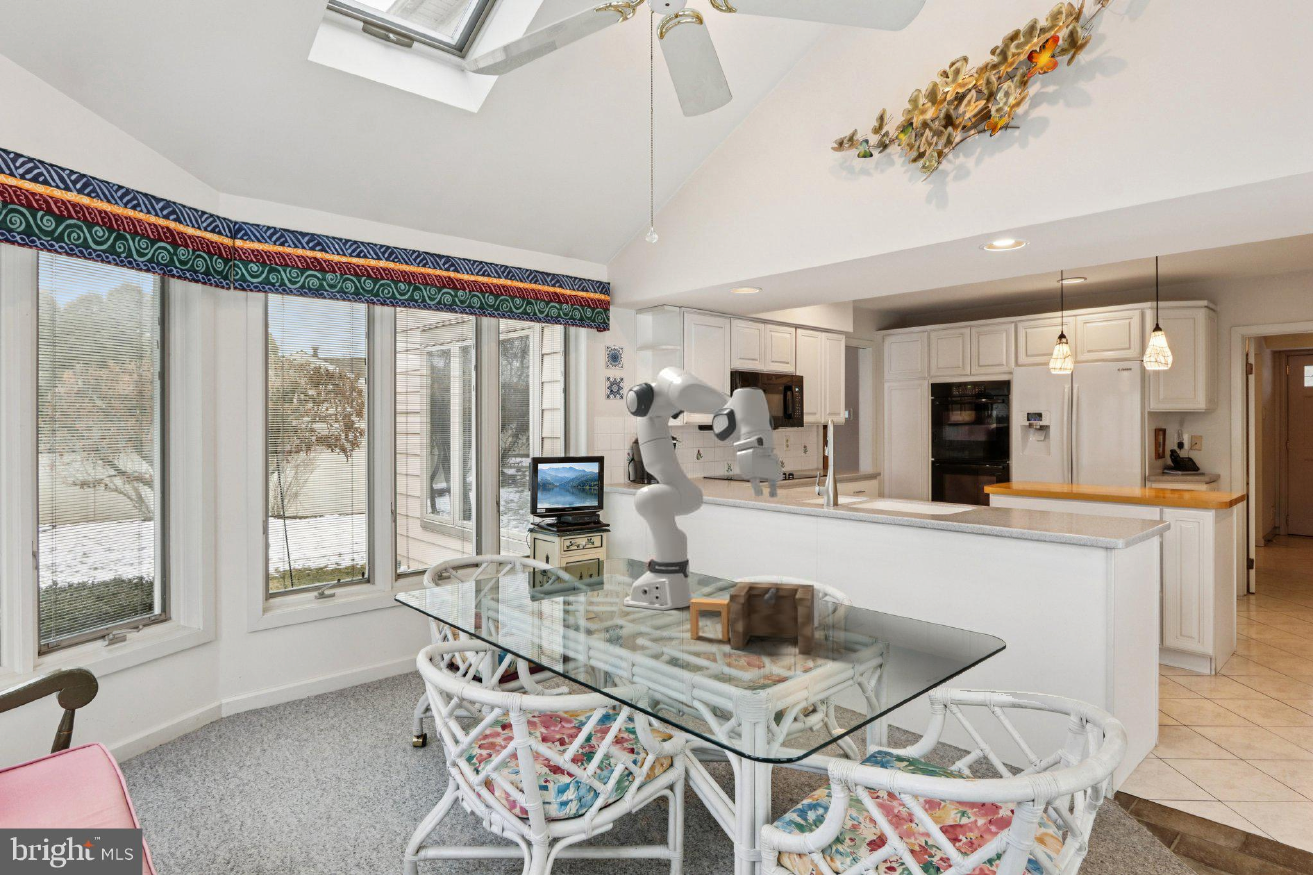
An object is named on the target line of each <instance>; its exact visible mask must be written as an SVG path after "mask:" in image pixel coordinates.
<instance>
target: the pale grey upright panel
mask: <svg viewBox="0 0 1313 875" xmlns="http://www.w3.org/2000/svg"><path fill="white" fill-rule="evenodd" d="M820 592H821V590H820V589H818V588H815V587H814V629H815V628H817V627H818V626H819V617H820V597H821V596H820V594H821V593H820Z"/></svg>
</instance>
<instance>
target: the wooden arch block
mask: <svg viewBox="0 0 1313 875" xmlns="http://www.w3.org/2000/svg"><path fill="white" fill-rule="evenodd" d="M699 610H702V611H705V610H706V611H714V612H716V611H717V612H718V611H719V612H721V619H720V620H721V641H722V642H729V640H730V639H731V634H730V599H728V600H727V599H711V598H710V599H708V598H706V599H705V598H693V597H692V600H691V601H690V605H689V615H690V616H689V617H690V618H689V621H690V624H689V625H690V640H697V639H698V637H699V636H700V616H699V615H700V614H699V612H700V611H699Z"/></svg>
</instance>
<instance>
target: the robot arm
mask: <svg viewBox="0 0 1313 875" xmlns="http://www.w3.org/2000/svg"><path fill="white" fill-rule="evenodd" d="M625 402H626V408H627V410H628V412H629V413H630V414H631V415H632V416H634V417H637V419H636V434H637V440H638V441H637V442H638V447H639V450H640V454H641V458H642V459H641V460H642V463H643V467H644V470H645V471H646V472H647V473H649V474H650V475H652V476H653V477H654V478H655V479H656V480H657V481H658V483H652V484H650V485H646V486H644V487H642V488H639V489H638V490H637V491H636V493H635V497H634V507H635V510H636V512H637V514H638V515H639V516H640V517H642V519H644V521H646V523H647V525H648V527H649V529H650V532H651V539H652V553H653V554H652V555H653V557H651V558H650V559H649V561H648V562H647V563H646V567H647V571H646V572H645V573H643V575H641V576H640V577H639V578H638V579H636V580H635V581H634V582H633V584H632V585H631V589H630V594H629V596H626V598H624V599H623V605H624V606H626V607H634V608H643V609H650V610H651V609H652V610H661V611H669V610H672V609H677V608H679V609H680V608H685V607H688V606H689V607H690V601H691V600H692V599H693V597H692V593H691V588H690V580H689V577H690V563H689V562H690V560H689V558H688V537H687V534H686V532H684V531H683V530H682V529H680V528H679V527H678V525H677V522H676V521H677V520H676V517H680V516H687V515H690V514H692V513H695V512H697V511H698V510H700V509H701V507H702V506H703V503H704V502H703V501H704V494H703V491H702V489H701V487H700V486H699V484H696V483H695V482H694V481H692V480H691V479H690V477H689V476H688V475H687V474H686V472H685V471H684V470H683V468H682V466H681V464H680V462H679V460H678V459H679V458H678V457H677V453H676V450H675V446H674V442H673V438H672V434H671V431H670V427H669V426H670V425H669V421H670V420H671V419H673V420H677V419H678V418H679V417H680V416H681V415H682V414H684V413H689V414H698V415H699V414H700V415H701V414H702V415H713V417H712V418H711V419H712V420H711V427H712V432H713V435H714V436H715V438H716V439H717V440H718V441H720V442H725V443H733V449H734V451H735V452H736V460H737V465H738V469H739V473H740V475H741V477H742V478H743V479H746V480H749V482H750V485H751V487H752V489H753V493H754V496H755V497H762V496H763V495H764V491H763V489H764V488H762V487H761V484H760V482H767V485H768V486H769V491H768V495H769V498H772V499H773V498H774V499H775V498H777V497H778V494H779V493H778V484H779V483H778V482H781V481H783V480H784V472H783V468H782V464H781V461H780V457H779V455H778V454H777V453H775V452H774V451H775V449H776V445H775V438H774V434H773V433H774V432H773V431H774V427H775V424H774V419H773V417H772V415H771V414H770V411H769V405H768V402H767V398H766V395H765V393H764V391H763V389H761V388H760V387H756V386H748V387H746V386H745V387H739V388H736V389H735V390H734V391H733V392H732V396H731V395H728V394H727V393H725V392H723V391H721V390H719V389H717V388H715V387H713V386H712V385H710V384H708V383H707V382H705V381H703V380H702V379H700V378H699V377H697V376H696V375H694V374H692V373H691V372H689V371H687V370H686V369H685V370H684V369H682V368H679V367H677V366H667V367H665V368H663V369H662V370H661V371H660V372H659V373H658V374H657V376H656V381H655V382H649V383H648V382H647V381H646V382H643V383H639V384H637V385H636V384H635V385H634V386H632V387H630V388H629V389H628V391H627V394H626V397H625Z"/></svg>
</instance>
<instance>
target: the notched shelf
mask: <svg viewBox="0 0 1313 875" xmlns="http://www.w3.org/2000/svg"><path fill="white" fill-rule="evenodd" d="M814 588H815V585H814V584H803V583H802V584H800V583H777V582H754V581H753V582H752V581H739V582H738V583H737V585H736V586H735V587H734V588H733V590H732V591H731V592H730V593H729V616H730V649H731V650H741V651H743V650H744V648H745V645H746V644H747V642H748V640H749V638H750V636H758V637H773V638H774V637H775V638H786V639H787V638H789V639H791V638H792V639H798V646H797V647H798V650H797V651H798V655H809V656H811V655H812V650H813V645H814V643H815V628H814Z"/></svg>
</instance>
